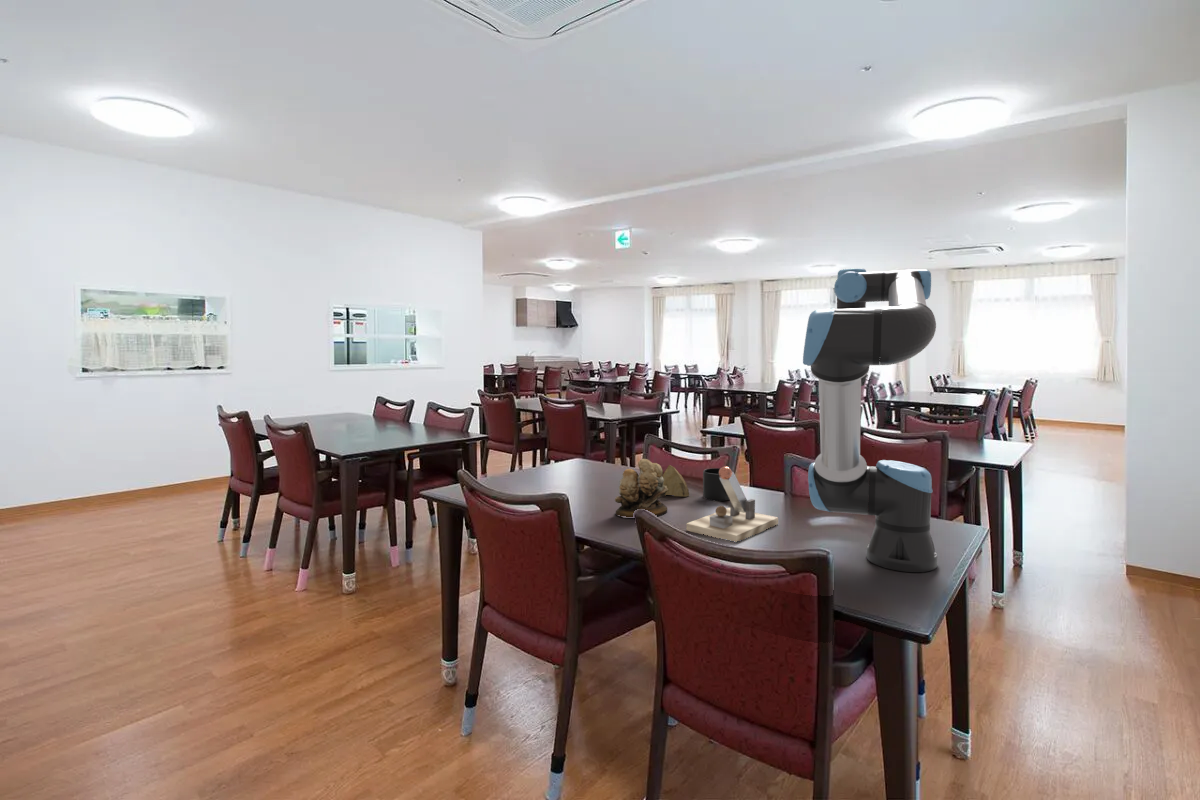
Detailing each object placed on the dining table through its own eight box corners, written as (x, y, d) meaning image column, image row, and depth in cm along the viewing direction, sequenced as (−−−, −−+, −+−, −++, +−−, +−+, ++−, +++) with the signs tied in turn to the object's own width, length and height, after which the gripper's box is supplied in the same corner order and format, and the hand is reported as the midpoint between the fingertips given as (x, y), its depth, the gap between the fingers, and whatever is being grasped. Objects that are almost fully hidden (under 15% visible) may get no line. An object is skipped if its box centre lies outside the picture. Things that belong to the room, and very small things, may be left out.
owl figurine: (656, 504, 200) (656, 452, 198) (677, 513, 189) (678, 458, 188) (607, 512, 191) (607, 457, 189) (627, 522, 181) (628, 464, 179)
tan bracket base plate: (729, 513, 188) (730, 489, 187) (778, 524, 176) (778, 498, 176) (686, 530, 172) (686, 504, 171) (736, 543, 161) (736, 515, 160)
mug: (719, 504, 198) (719, 476, 198) (697, 496, 209) (697, 470, 208) (742, 500, 203) (743, 473, 202) (719, 492, 213) (719, 467, 213)
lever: (739, 502, 180) (720, 462, 171) (750, 504, 177) (731, 464, 168) (734, 511, 178) (714, 472, 169) (745, 514, 175) (725, 474, 167)
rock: (698, 489, 209) (681, 479, 218) (687, 471, 205) (670, 462, 214) (675, 510, 207) (659, 500, 215) (663, 493, 203) (647, 483, 211)
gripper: (880, 325, 168) (877, 412, 170) (833, 327, 177) (831, 409, 179) (869, 325, 162) (866, 414, 165) (821, 326, 171) (819, 411, 174)
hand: (848, 411), depth 172 cm, fingers closed
